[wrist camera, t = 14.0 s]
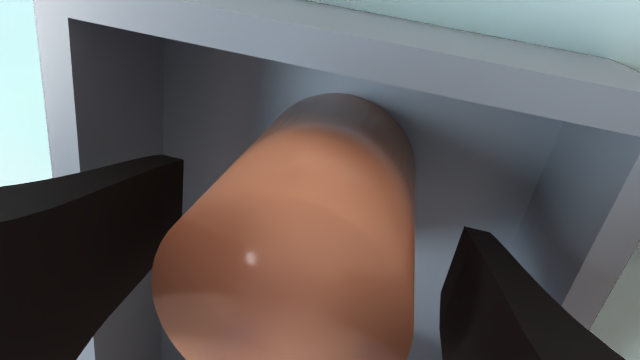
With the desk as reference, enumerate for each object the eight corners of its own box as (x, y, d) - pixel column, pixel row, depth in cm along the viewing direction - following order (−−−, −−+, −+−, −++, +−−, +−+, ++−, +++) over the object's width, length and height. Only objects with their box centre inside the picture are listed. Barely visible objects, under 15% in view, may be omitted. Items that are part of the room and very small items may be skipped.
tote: (436, 453, 20) (442, 588, 16) (153, 370, 22) (85, 473, 17) (610, 59, 13) (715, 107, 8) (153, -30, 14) (30, -29, 10)
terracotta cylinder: (396, 251, 15) (382, 438, 9) (256, 218, 16) (153, 375, 10) (433, 110, 13) (446, 232, 7) (269, 79, 14) (147, 165, 8)
